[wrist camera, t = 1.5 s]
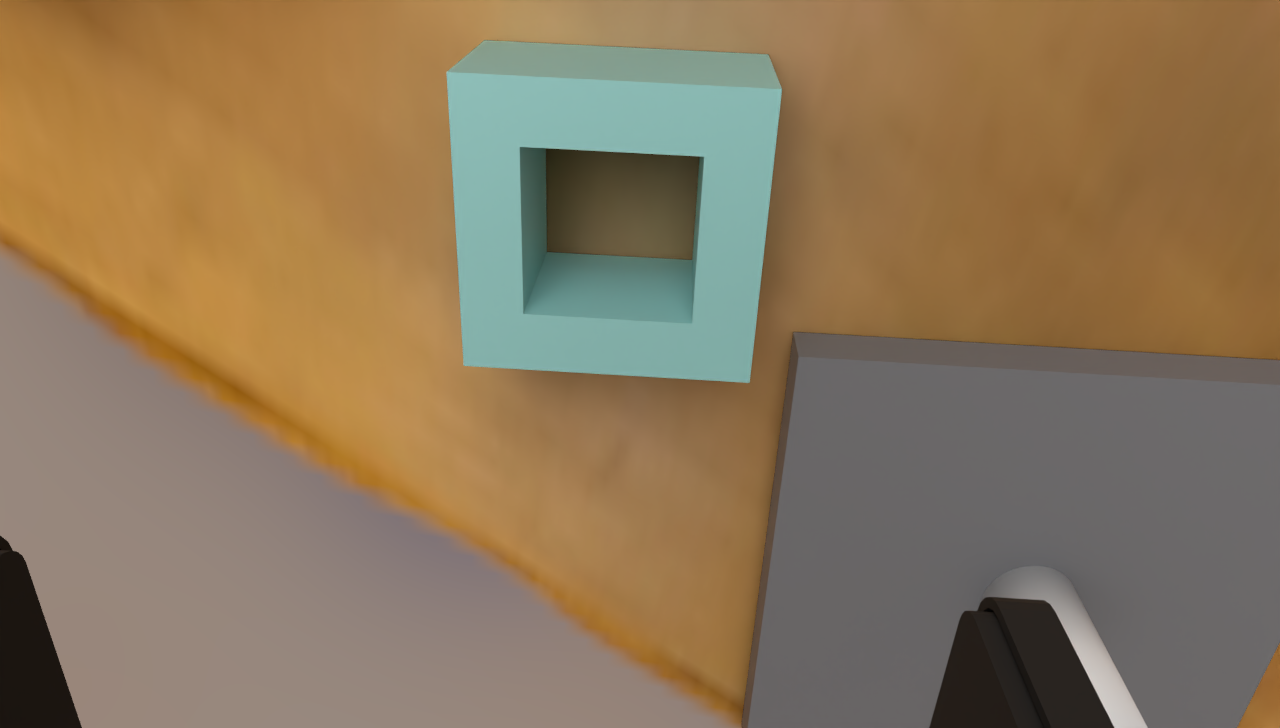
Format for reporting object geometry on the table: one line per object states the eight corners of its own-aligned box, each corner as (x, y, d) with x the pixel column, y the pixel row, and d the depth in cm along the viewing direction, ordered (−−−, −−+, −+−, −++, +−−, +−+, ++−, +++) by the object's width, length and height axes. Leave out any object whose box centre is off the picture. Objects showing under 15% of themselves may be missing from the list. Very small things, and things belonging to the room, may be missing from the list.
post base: (1368, 365, 26) (1580, 522, 20) (1185, 754, 33) (1295, 955, 27) (793, 331, 26) (823, 475, 20) (741, 723, 34) (751, 914, 28)
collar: (768, 54, 23) (781, 89, 19) (742, 312, 26) (749, 382, 22) (484, 40, 23) (446, 71, 19) (494, 298, 26) (463, 365, 23)
